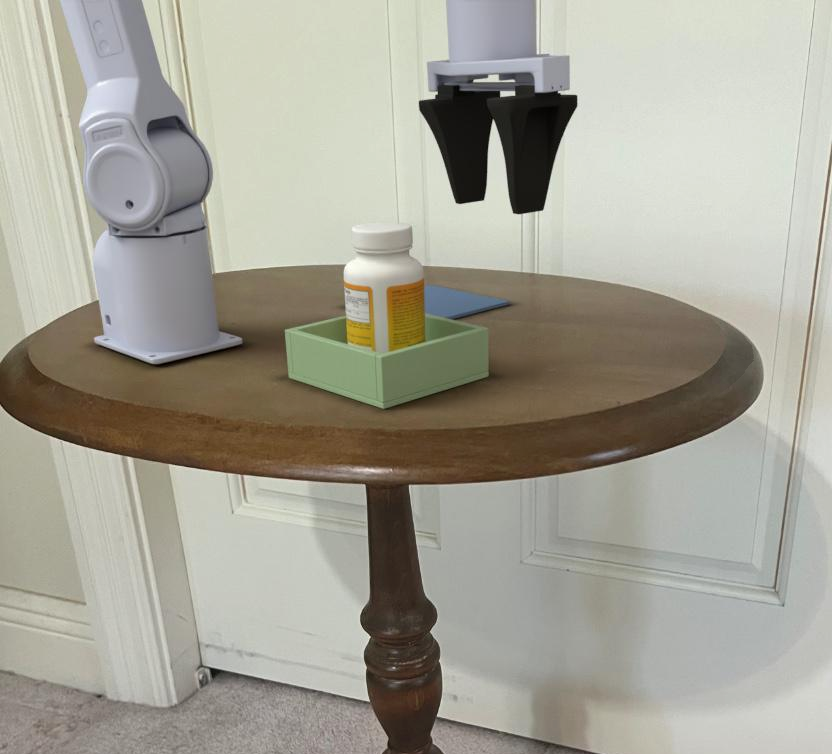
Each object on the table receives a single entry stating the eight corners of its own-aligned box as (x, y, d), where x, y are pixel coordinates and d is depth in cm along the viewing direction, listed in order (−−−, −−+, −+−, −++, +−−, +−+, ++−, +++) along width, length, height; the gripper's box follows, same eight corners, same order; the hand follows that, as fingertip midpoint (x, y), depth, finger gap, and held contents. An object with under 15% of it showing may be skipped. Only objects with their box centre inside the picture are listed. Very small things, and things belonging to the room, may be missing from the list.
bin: (288, 378, 76) (284, 329, 75) (391, 350, 82) (390, 304, 80) (383, 409, 69) (381, 357, 68) (488, 376, 75) (489, 327, 74)
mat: (347, 307, 95) (347, 303, 94) (430, 288, 100) (430, 284, 100) (425, 326, 88) (425, 322, 88) (509, 304, 94) (509, 300, 94)
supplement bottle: (429, 361, 78) (426, 218, 73) (422, 383, 73) (418, 232, 68) (355, 361, 78) (347, 220, 74) (343, 383, 73) (334, 233, 69)
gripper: (611, -32, 64) (609, 208, 71) (484, -14, 76) (492, 191, 82) (511, -26, 62) (517, 223, 68) (395, -8, 73) (410, 203, 80)
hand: (498, 206), depth 75 cm, fingers open, 7 cm apart
